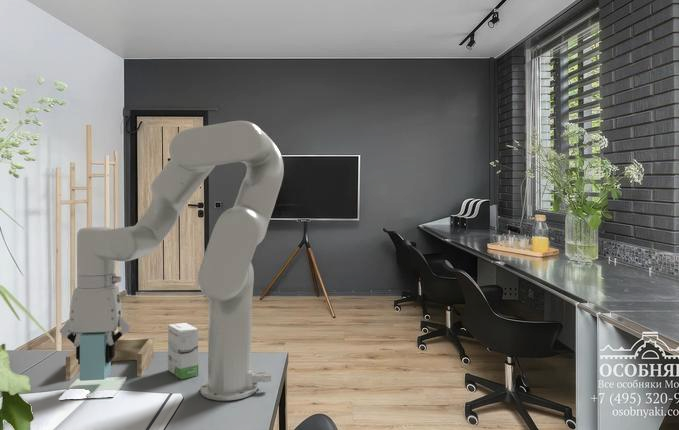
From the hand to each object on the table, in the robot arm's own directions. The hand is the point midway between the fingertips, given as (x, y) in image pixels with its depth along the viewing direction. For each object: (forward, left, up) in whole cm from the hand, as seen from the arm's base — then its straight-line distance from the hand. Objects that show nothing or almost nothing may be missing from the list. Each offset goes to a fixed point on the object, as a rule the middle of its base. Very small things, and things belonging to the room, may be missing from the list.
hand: (95, 360), depth 107 cm
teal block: (0, 0, -4) cm, 4 cm away
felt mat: (0, 0, -6) cm, 6 cm away
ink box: (-18, -8, -7) cm, 21 cm away
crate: (0, -14, -6) cm, 15 cm away
